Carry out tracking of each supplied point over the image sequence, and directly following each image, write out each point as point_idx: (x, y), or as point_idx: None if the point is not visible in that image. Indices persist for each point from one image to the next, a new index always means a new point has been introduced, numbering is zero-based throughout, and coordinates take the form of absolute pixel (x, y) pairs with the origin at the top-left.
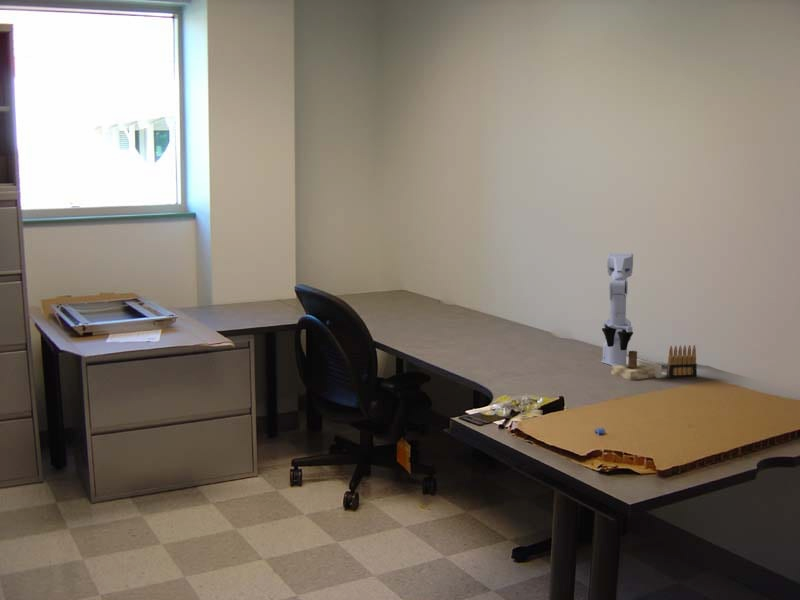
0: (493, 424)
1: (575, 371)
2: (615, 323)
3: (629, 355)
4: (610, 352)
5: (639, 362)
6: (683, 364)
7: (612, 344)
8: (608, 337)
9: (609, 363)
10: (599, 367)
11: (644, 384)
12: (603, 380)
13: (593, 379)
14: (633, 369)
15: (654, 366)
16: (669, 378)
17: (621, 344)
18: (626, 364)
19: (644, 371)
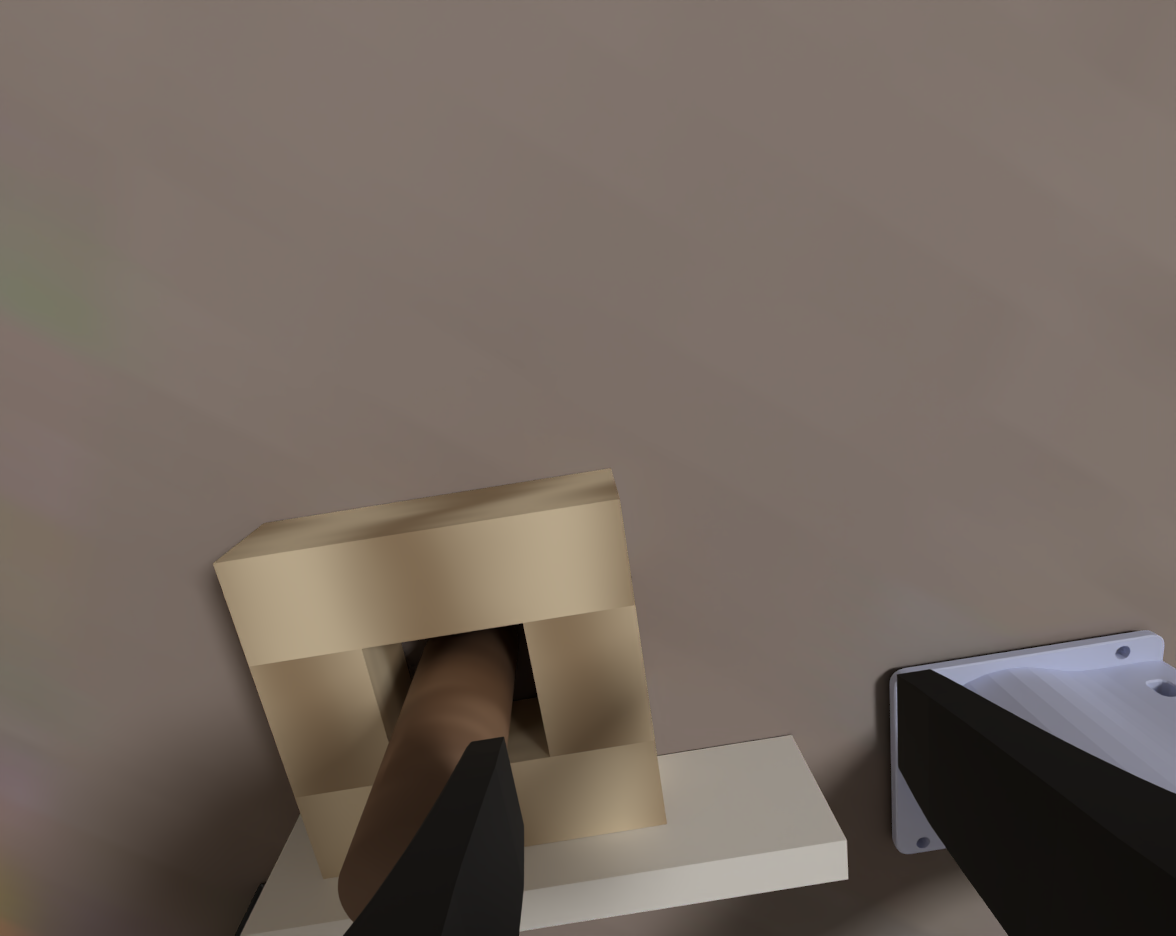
0: None
1: (909, 92)
2: None
3: (412, 777)
4: (1111, 761)
5: (589, 857)
6: None
7: (921, 784)
8: (1065, 838)
9: (1008, 663)
10: (953, 502)
11: (40, 565)
12: (320, 201)
13: (405, 93)
14: (352, 661)
15: (322, 904)
16: (258, 887)
17: (417, 833)
18: (638, 711)
19: (286, 744)
